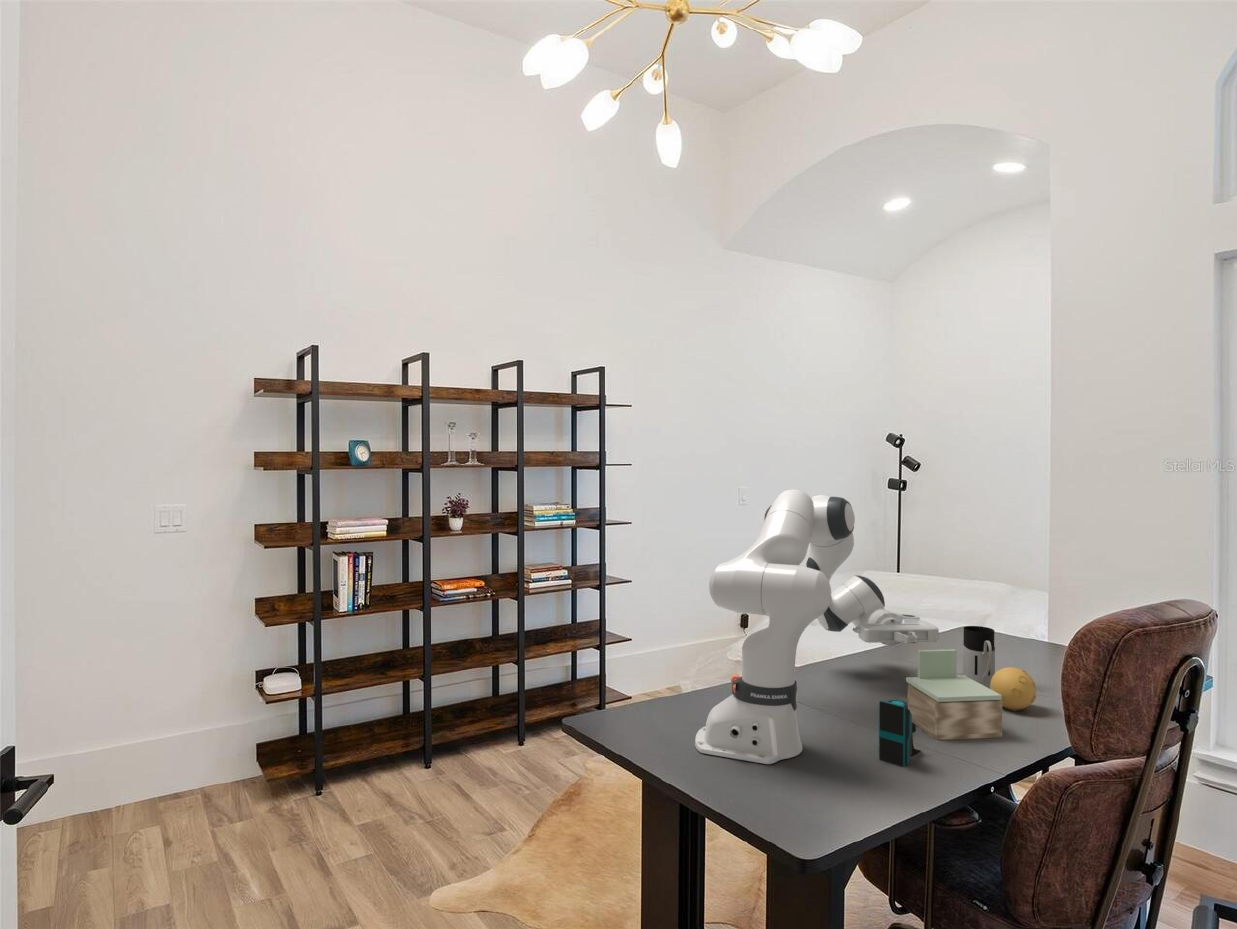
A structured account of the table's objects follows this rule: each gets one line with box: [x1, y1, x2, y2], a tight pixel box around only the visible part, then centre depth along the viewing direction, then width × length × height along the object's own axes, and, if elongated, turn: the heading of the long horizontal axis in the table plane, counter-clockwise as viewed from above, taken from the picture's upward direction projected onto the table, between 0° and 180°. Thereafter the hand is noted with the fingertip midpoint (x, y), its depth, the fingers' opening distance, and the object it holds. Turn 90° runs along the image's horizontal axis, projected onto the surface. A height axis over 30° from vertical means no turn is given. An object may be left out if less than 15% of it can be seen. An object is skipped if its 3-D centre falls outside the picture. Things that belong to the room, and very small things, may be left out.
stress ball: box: [990, 666, 1037, 712], centre depth 179 cm, size 10×10×10 cm
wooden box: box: [907, 683, 1003, 741], centre depth 167 cm, size 15×13×8 cm
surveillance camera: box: [878, 699, 921, 767], centre depth 151 cm, size 6×12×10 cm
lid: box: [905, 648, 1002, 702], centre depth 167 cm, size 15×14×7 cm
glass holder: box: [962, 625, 996, 689], centre depth 195 cm, size 9×14×15 cm, turn 170°
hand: (912, 640), depth 185 cm, fingers closed
